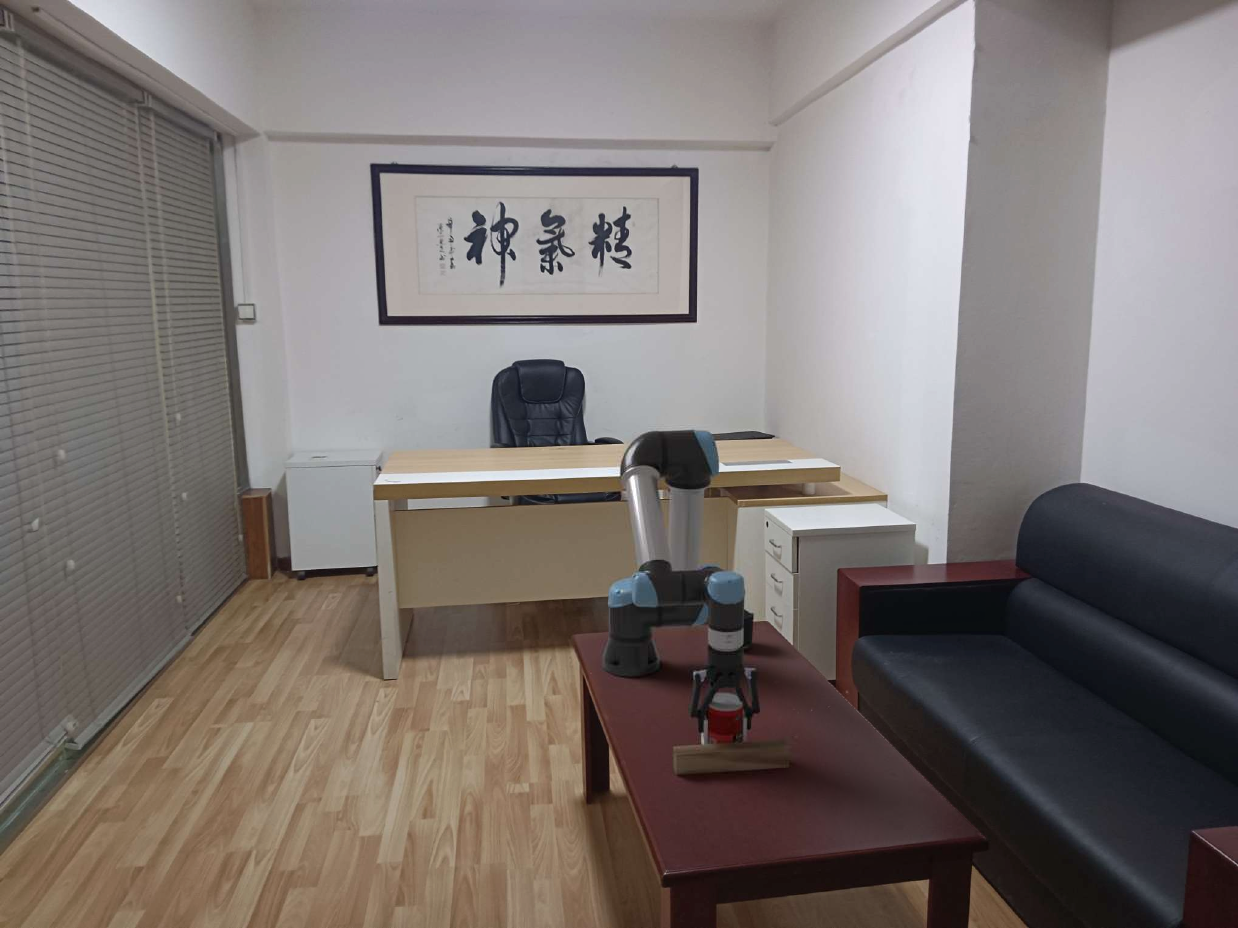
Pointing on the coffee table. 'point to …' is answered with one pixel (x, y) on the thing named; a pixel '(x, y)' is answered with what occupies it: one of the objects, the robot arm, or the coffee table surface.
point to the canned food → (725, 719)
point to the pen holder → (747, 630)
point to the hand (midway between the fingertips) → (723, 743)
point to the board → (730, 756)
